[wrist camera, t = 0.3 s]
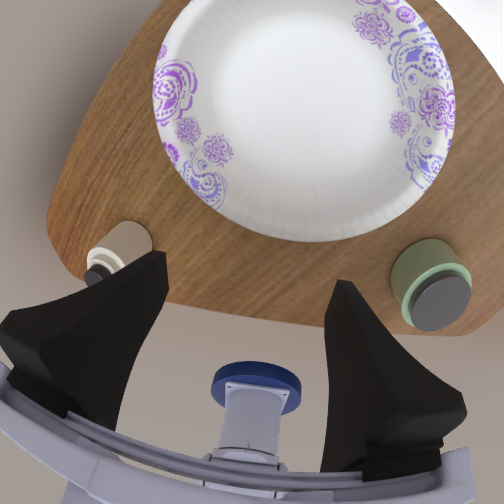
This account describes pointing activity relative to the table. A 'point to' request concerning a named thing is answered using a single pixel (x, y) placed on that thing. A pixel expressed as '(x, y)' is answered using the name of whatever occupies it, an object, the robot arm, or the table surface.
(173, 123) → the paper bowls
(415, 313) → the green jar
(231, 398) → the robot arm
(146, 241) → the small bottle
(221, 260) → the table surface
